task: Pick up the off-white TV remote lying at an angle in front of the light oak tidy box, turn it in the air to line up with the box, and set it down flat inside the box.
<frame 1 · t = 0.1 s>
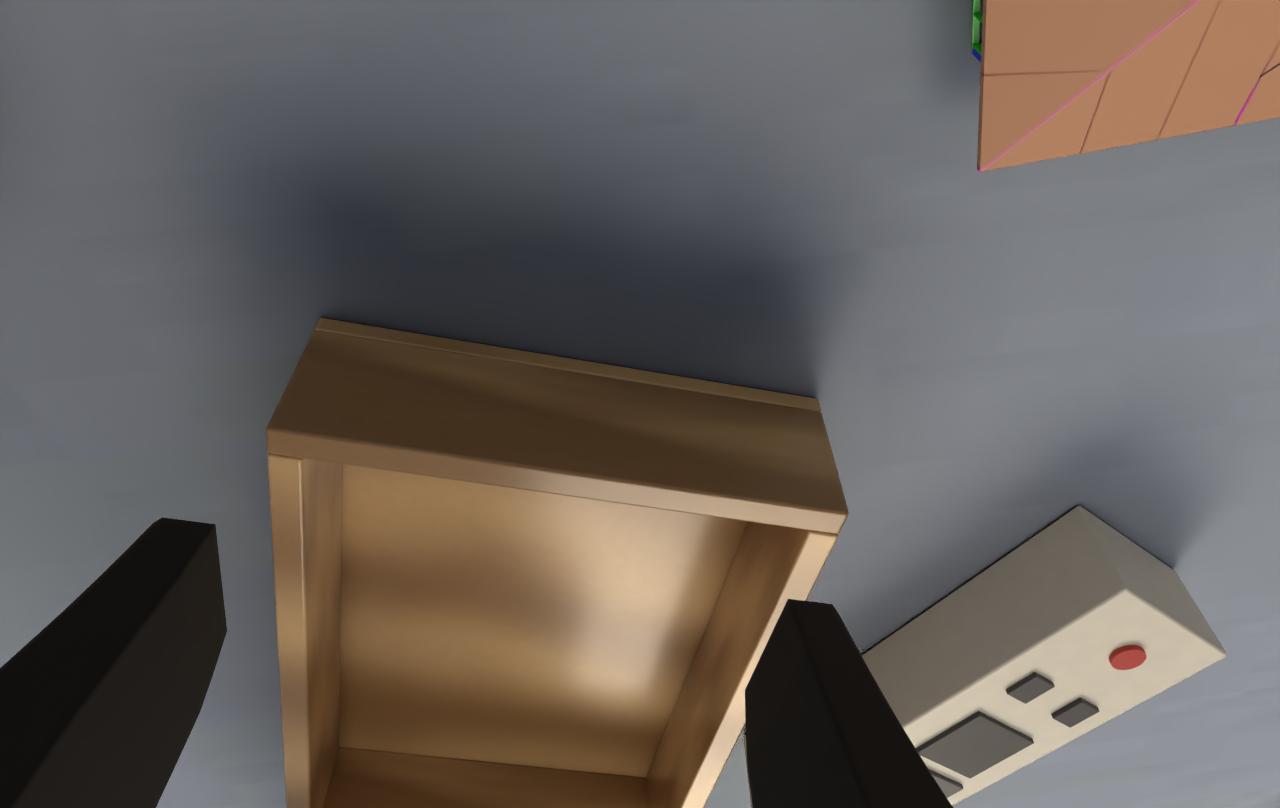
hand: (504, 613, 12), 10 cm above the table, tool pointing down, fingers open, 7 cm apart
tidy box: (528, 599, 27), on the table
remote: (940, 660, 29), on the table
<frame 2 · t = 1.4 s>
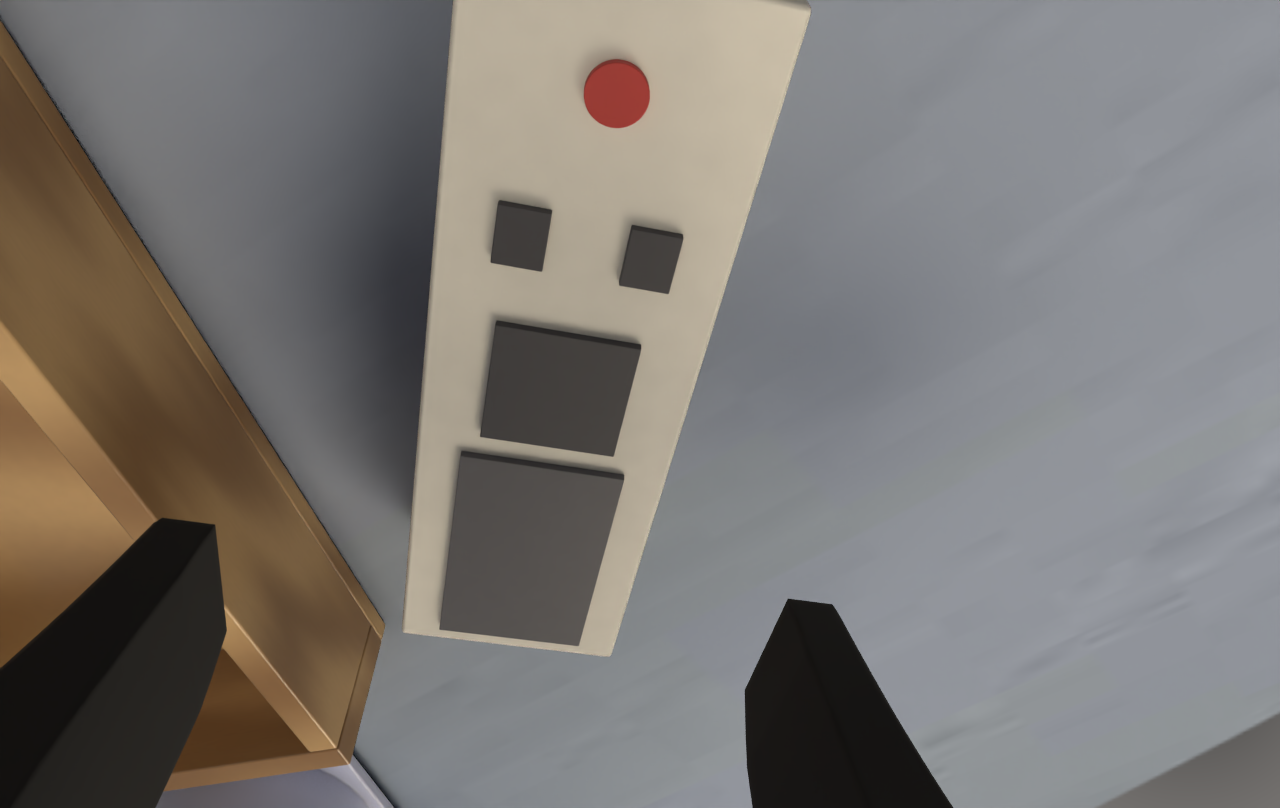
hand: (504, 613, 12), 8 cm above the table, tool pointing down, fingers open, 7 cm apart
remote: (565, 306, 18), on the table
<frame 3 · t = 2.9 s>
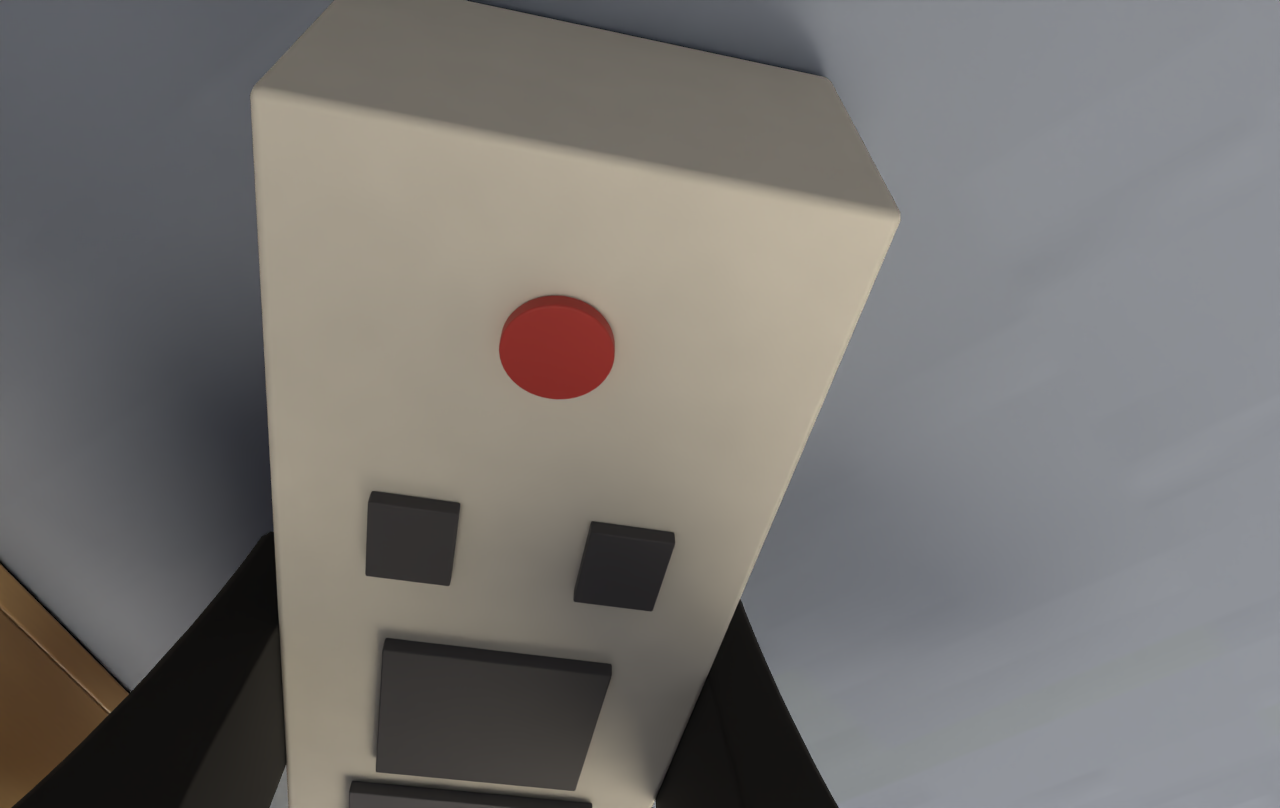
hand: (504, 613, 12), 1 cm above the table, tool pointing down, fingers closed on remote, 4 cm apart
remote: (512, 533, 13), on the table, touching gripper
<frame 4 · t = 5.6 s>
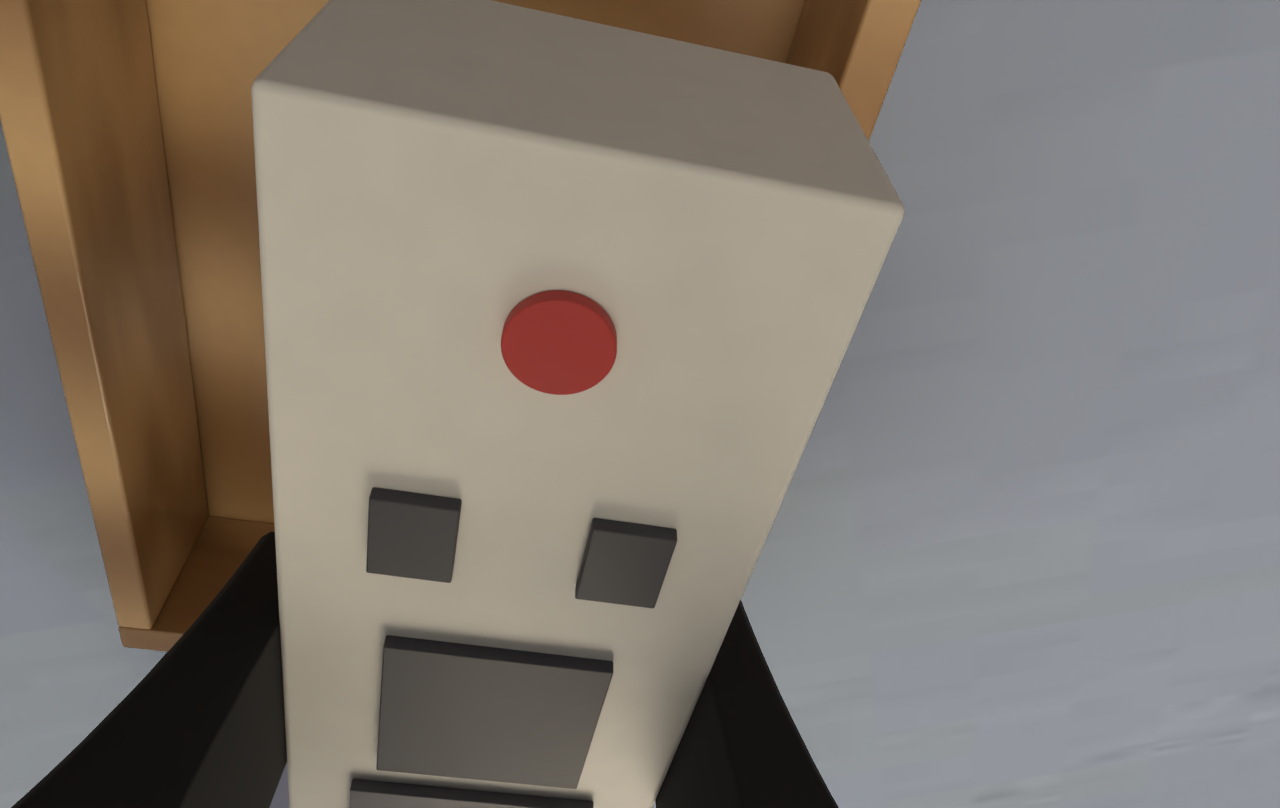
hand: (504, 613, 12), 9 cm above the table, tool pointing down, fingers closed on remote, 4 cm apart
tidy box: (457, 249, 18), on the table
remote: (513, 531, 13), point 7 cm above the table, touching gripper
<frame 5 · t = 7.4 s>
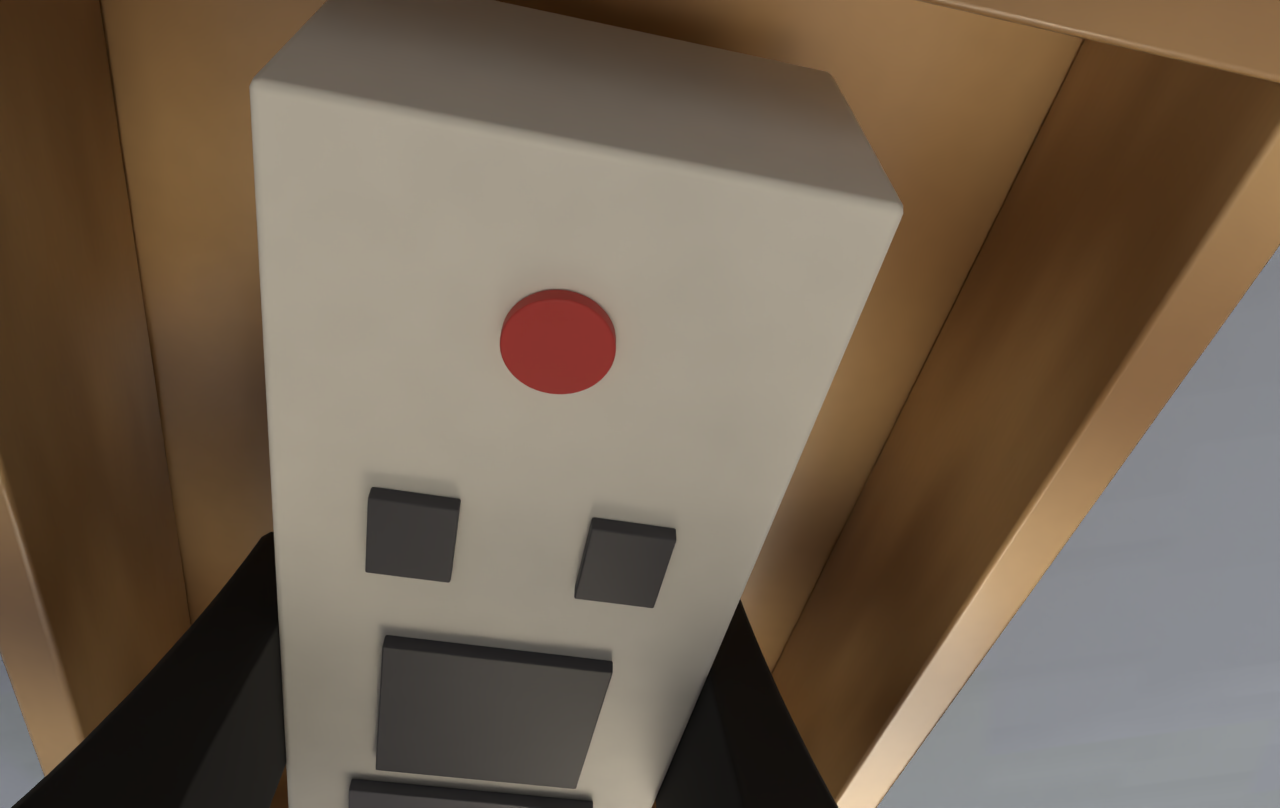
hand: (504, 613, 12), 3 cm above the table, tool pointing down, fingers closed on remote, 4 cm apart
tidy box: (526, 444, 14), on the table
remote: (512, 531, 13), point 2 cm above the table, touching gripper
when the fingers open (2 cm above the table, at t = 8.3 s): remote stays where it is, resting on tidy box.
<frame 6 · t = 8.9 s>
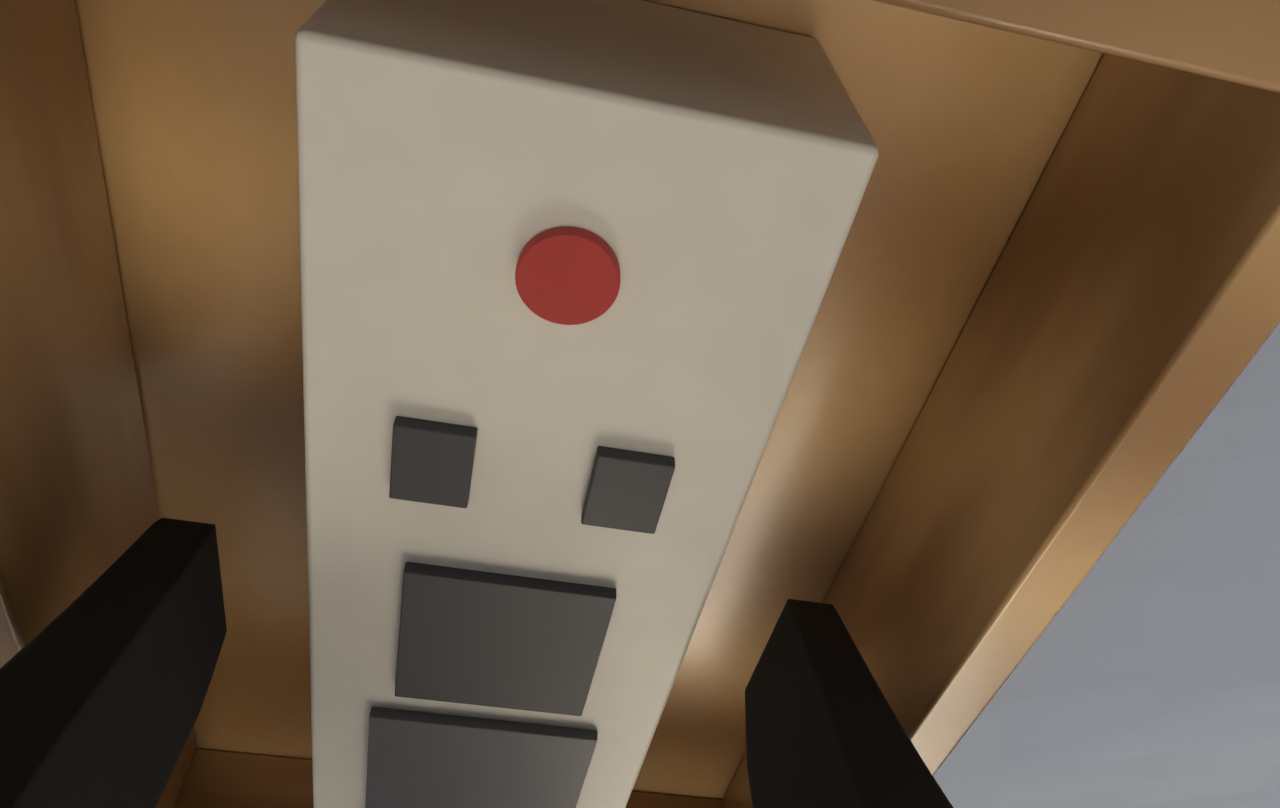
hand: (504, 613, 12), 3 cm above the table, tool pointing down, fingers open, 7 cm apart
tidy box: (524, 463, 14), on the table
remote: (521, 482, 14), resting on tidy box
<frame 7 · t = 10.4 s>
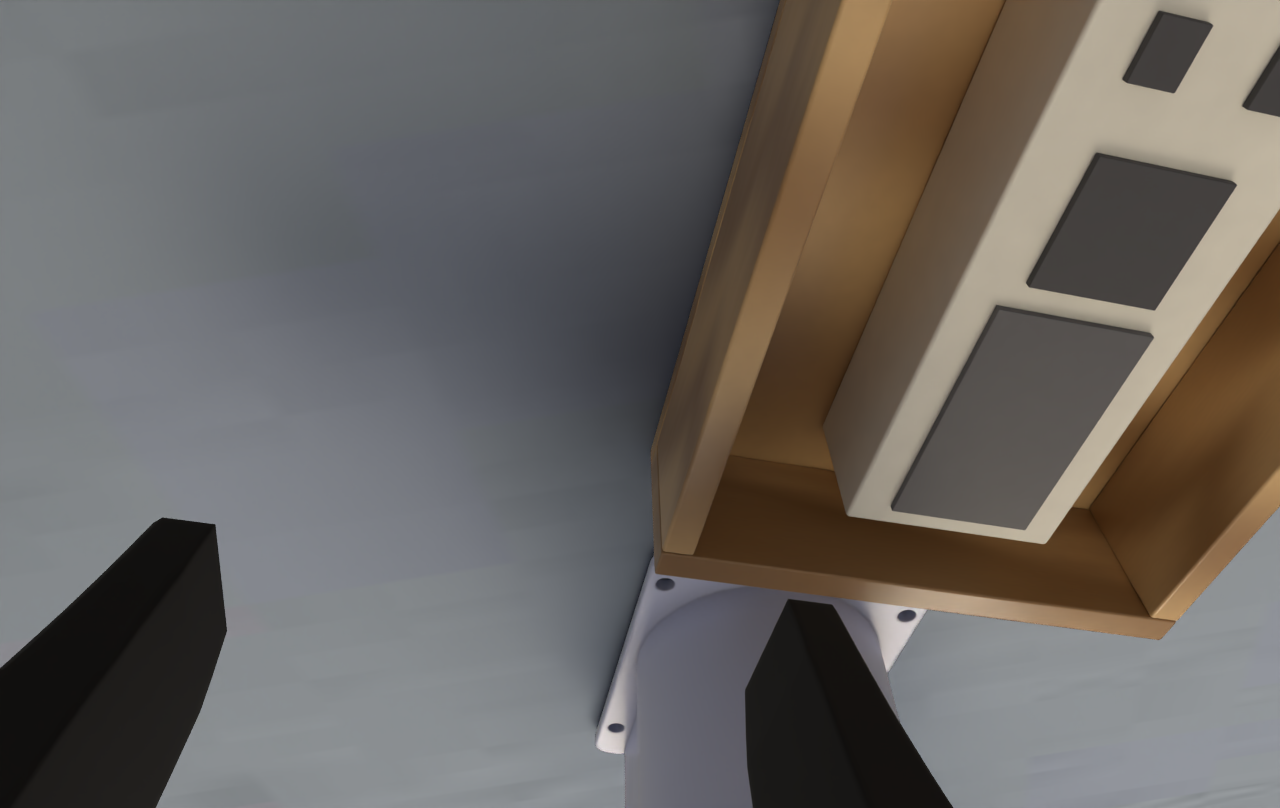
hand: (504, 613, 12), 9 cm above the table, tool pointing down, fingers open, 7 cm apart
tidy box: (1041, 162, 18), on the table
remote: (1052, 169, 18), resting on tidy box
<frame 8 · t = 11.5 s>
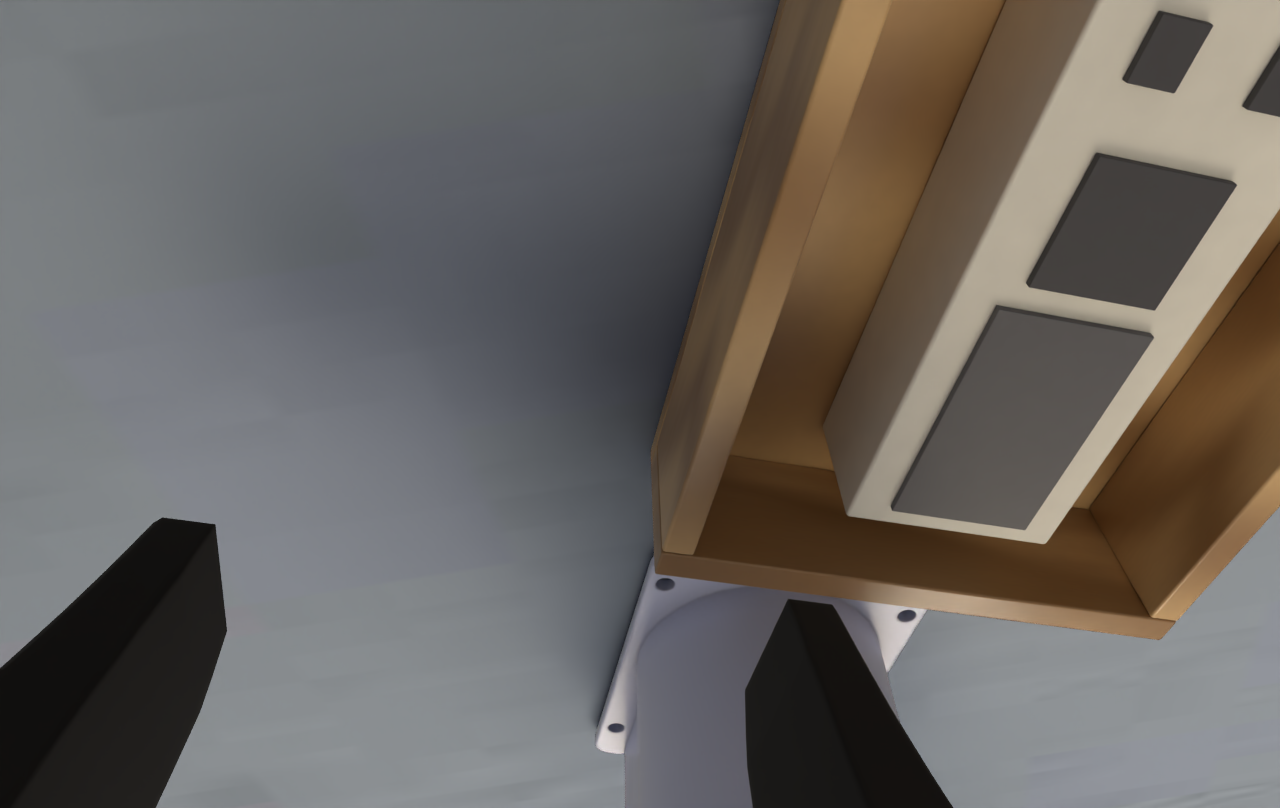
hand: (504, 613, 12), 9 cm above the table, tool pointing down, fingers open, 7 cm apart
tidy box: (1041, 162, 18), on the table
remote: (1052, 169, 18), resting on tidy box
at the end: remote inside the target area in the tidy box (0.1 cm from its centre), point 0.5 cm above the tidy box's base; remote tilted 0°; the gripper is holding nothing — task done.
